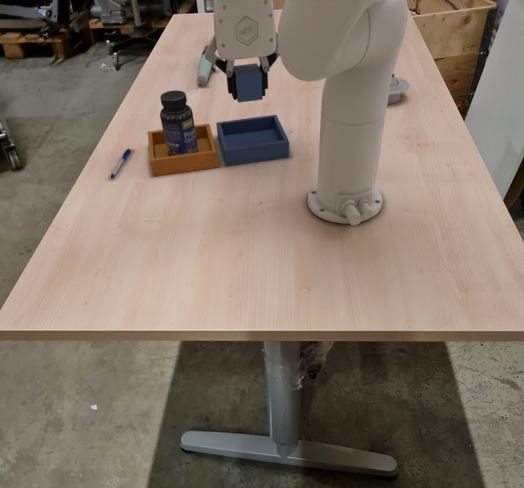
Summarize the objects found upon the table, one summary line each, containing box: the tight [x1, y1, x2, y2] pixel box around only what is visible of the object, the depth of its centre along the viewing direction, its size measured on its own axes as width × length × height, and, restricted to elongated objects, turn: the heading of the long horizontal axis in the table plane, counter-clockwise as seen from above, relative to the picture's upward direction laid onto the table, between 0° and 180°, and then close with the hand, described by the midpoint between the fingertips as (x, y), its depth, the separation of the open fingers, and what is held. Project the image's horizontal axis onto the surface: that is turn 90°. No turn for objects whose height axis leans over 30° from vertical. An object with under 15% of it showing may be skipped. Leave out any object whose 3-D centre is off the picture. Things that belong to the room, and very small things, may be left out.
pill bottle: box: [159, 90, 198, 156], centre depth 91 cm, size 6×6×11 cm
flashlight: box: [196, 44, 217, 86], centre depth 123 cm, size 3×4×20 cm
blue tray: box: [215, 114, 290, 167], centre depth 96 cm, size 12×13×3 cm
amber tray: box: [147, 123, 219, 177], centre depth 95 cm, size 12×13×3 cm
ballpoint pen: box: [110, 148, 132, 179], centre depth 95 cm, size 10×1×1 cm, turn 173°
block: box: [233, 62, 264, 104], centre depth 88 cm, size 5×5×5 cm
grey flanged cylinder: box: [387, 73, 410, 105], centre depth 104 cm, size 12×10×10 cm
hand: (248, 94), depth 89 cm, fingers closed on block, 4 cm apart
